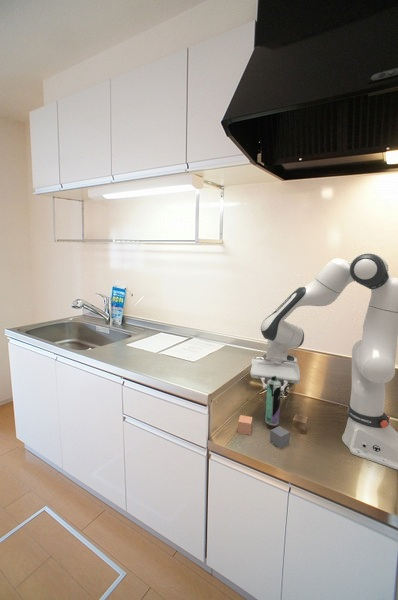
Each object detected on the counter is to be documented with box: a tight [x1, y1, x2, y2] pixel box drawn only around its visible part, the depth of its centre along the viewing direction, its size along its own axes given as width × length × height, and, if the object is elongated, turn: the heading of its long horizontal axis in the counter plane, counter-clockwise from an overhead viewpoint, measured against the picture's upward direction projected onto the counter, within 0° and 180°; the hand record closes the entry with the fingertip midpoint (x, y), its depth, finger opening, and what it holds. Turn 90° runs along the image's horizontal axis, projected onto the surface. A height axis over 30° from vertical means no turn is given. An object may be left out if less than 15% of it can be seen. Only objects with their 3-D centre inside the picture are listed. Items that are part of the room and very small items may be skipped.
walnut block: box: [291, 413, 309, 435], centre depth 122 cm, size 5×5×5 cm
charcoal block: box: [269, 425, 291, 450], centre depth 114 cm, size 5×5×5 cm
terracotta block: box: [237, 414, 253, 436], centre depth 121 cm, size 5×5×5 cm
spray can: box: [264, 376, 282, 426], centre depth 123 cm, size 6×6×20 cm
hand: (273, 390), depth 121 cm, fingers closed on spray can, 5 cm apart
